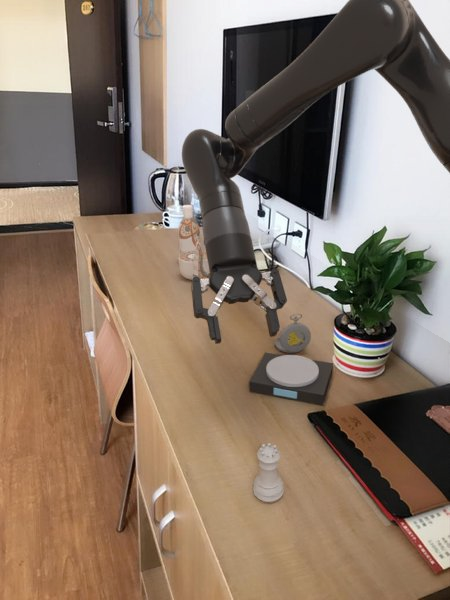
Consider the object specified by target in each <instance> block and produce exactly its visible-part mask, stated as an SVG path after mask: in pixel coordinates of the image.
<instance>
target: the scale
mask: <svg viewBox="0 0 450 600" xmlns="http://www.w3.org/2000/svg"><path fill="white" fill-rule="evenodd" d="M333 373H334V363H333V362H328V361H323V360H316V359H310V358H308V357H305V356H302V355H297V354H285V355H284V354H278V353H272V352H264V354H263V356H262V357H261V359H260V361H259V363H258V364H257V367H256V368H255V370H254V372H253V374H252V376H251V377H250V379H249V381H248V389H249V390H248V392H249V393H253V394H259V395H264V396H270V397H275V398H280V399H286V400H290V401H291V400H292V401H296V402H297V401H298V402H302V403H307V404H313V405H317V406H324V403H325V400H326V398H327V394H328V390H329V387H330V385H331V380H332V376H333Z"/></svg>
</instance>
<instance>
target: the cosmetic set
mask: <svg viewBox="0 0 450 600" xmlns="http://www.w3.org/2000/svg"><path fill="white" fill-rule="evenodd" d="M182 215H183V217H182V219H181V221H180V222H179V225H178V230H177V237H178V249H179V255H178V268H179V273H180V274H181V276H182V277H184V278H185V279H187V280H190V281H192V279H193V277H195V276H197V277H199V278H200V279H209V277H208V276H209V275H210V271H209V265H208V260H207V254H206V251H203V249H202V246H201V230H200V226H199V224H198V222H197V220H196V219H195V217H194V215H193V205H191V204H183V205H182ZM208 288H209V286H207V287H206V289H205V291H206V290H208Z"/></svg>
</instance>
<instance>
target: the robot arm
mask: <svg viewBox="0 0 450 600" xmlns="http://www.w3.org/2000/svg"><path fill="white" fill-rule="evenodd" d="M371 70H372V71H373V70H374V71H375V72H377V74H379V75H380V76H381V77H382V78H383V79H384V81H386V82H387V83H388V84H389V85H390V86H391V87H392V88H393V89H394V90H395V91H396V93H398V94H399V96H400V97H401V98H402V100H403V101H404V102H405V104H406V105H407V107H408V108H409V110H410V112H411V115H412V117H413V118H414V120H415V122H416V124H417V126H418V128H419V131H420V133H421V134H422V136H423V138H424V140H425V142H426V143H427V146H428V148H429V149H430V150H431V152H432V153H433V155H434V156H435V157H436V159H437V160H438V162H439V163H440V164H441V165H442V166H443V167H444V169H445V170H446V171H447V172H448V173H449V174H450V58H449V57H448V56H447V55H446V53H445V52H444V51H443V49H442V48H441V47H440V45H439V44H438V42H437V41H436V39H435V38H434V36H433V35H432V34H431V32H430V31H429V29H428V27H427V26H426V24H425V23H424V22H423V20H422V18H421V16H420V15H419V14H418V12H417V11H416V9H415V7H414V5H412V3H411V1H410V0H348V1H347V2H346V3H345V4H344V6H342V8H341V9H340V10H339V11H338V13H336V15H335V16H334V17H333V19H332V20H331V21H330V22H329V23H328V24H327V25H326V27H324V29H323V30H322V31H321V32H320V33H319V35H318V36H316V38H315V39H314V40H313V41H312V42H311V43H310V44H309V45H308V46H307V48H306V49H304V51H302V53H301V54H300V55H298V56H297V57H296V59H294V60H293V61H292V62H291V63H290V64H289V65H288V66H286V67H285V68H284V69H283V70H282V71H280V72H279V73H278V74H277V75H276V76H274V77H273V78H271V79H270V80H269V81H268V82H266V83H265V84H264V85H262V86H261V87H260V88H259V89H257V90H256V91H255V92H254V93H252V94H251V95H250V96H249V97H247V99H245V100H244V101H243V102H242V103H240V104H239V105H238V106H237V107H236V108H235V109H233V110H231V112H230V113H229V114H228V116H227V117H226V118H225V122H224V123H225V124H224V128H225V132H226V135H227V137H228V138H226V137H223V136H221V135H219V134H216V133H214V132H213V131H210V130H208V129H204V128H197V129H194V130H192V131H191V132H189V133H188V134H187V136H186V137H185V138H184V141H183V143H182V146H181V147H182V148H181V160H182V165H183V168H184V171H185V173H186V176H187V178H188V181H189V182H190V184H191V187H192V189H193V191H194V193H195V195H196V197H197V198H198V203H199V210H200V215H201V221H202V235H203V236H202V237H203V245H204V247H205V252H206V254H207V260H208V265H209V271H210V273H209V277H208V279H200V278H199V277H197V276H195V277H193V279H192V280H191V285H190V287H191V298H192V309H193V317H194V318H195V319H203V320H205V321H206V323H207V328H208V335H209V339H210V340H211V341H214V344H215V345H218V344H221V342H222V335H221V328H220V323H219V318H218V316H217V314H218V312H219V311H220V309H221V307H222V305H223V303H226V304H228V305H234V304H237V303H249V301H252V302H253V303H254V304H255V305H256V306H259V307H260V308H261V309H262V310H263V311H264V312H265V315H264V317H265V321H266V326H267V330H268V331H267V332H268V335H269V337H270V338H273V337H276V336H277V334H278V332H279V330H280V328H281V326H280V321H279V315H278V310H282V309H283V308H284V306H285V305H286V303H287V302H288V298H287V294H286V292H285V291H286V290H285V288H284V285H283V280H282V277H281V274H280V270H279V269H278V268H277V267H274V268H272V269H271V270H269V271H264V272H261V270H260V269H259V268H258V264H257V259H256V254H255V249H254V244H253V239H252V235H251V234H252V233H251V230H250V225H249V221H248V219H247V216H246V212H245V207H244V203H243V198H242V193H241V189H240V188H239V185H238V184H237V183H236V181H234V180H232V179H233V178H235V177H236V176H237V175H239V173H240V172H241V171H242V170H243V169H244V167H245V166H246V165H247V163H248V162H249V161H250V160H251V158H252V157H253V156H254V154H255V153H256V151H258V149H259V148H260V147H262V146H264V145H265V144H266V143H267V142H269V141H270V140H272V139H273V138H274V137H275V136H277V135H278V134H280V133H281V132H282V131H283V130H285V129H286V128H288V126H290V125H291V124H292V123H293V122H294V121H296V120H297V119H298V118H299V117H300V116H301V115H302V114H303V113H305V111H306V110H308V109H309V108H310V107H311V106H312V105H313V104H315V103H316V102H317V101H319V100H320V99H321V98H322V97H324V96H326V95H327V94H329V93H330V92H332V91H334V90H335V89H336V88H339V87H340V86H341V85H343V84H345V83H348V82H349V81H352V80H354V79H355V78H357V77H360V76H361V75H363V74H366V73H368V72H370V71H371ZM262 281H264V282H265V284H266V285H267V286H269V287H270V290H271V294H272V297H273V299H272V298H271V297H270V296H269V295H268V293H267V292H266V290H264V289H263V288H262V286H260V284H261V282H262ZM207 286H208V288H209V289H210V290H211V291H213V293H214V294H216V295H215V297H214V298H213V301H212V303H211V305H210V306H209V308H206V307H204V304H203V295H202V294H204V293H205V291H206V290H207V289H206V287H207ZM205 289H206V290H205Z"/></svg>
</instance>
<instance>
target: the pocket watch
mask: <svg viewBox="0 0 450 600" xmlns="http://www.w3.org/2000/svg"><path fill="white" fill-rule="evenodd" d="M298 315H299V316H300V317H298ZM293 316H294V317H293ZM292 317H293V318H292ZM302 318H303V314H301V313H293V314H291V315H290V316H289V319H290V320H292V321H293V323H290V324H287V325H286V326H285V327H284V328H283V329H282V330H281V332H280V334H279V336H278V338H276V339H275V341H274V347H275V348H276V349H277V350H279V351H281V352H282V353H288V354H295V353H299V352H302V351H303V350H304V349H306V348H307V347H308V346H309V344H310V342H311V339H312V334H311V330H310V327H308V326H307V325H306V324H304V323H302V322H298V321H299V320H300V319H302Z"/></svg>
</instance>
